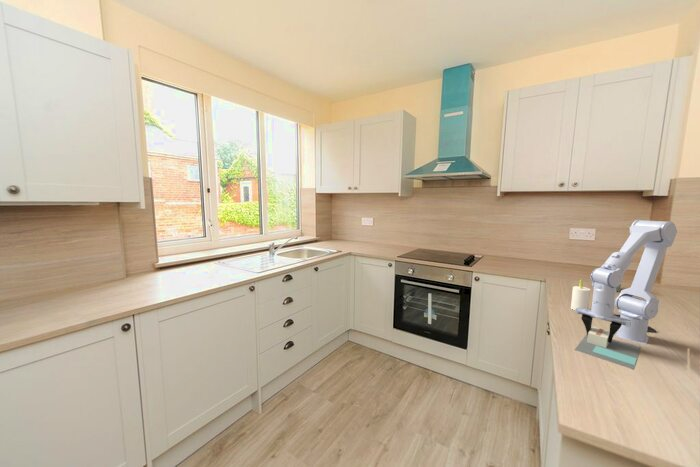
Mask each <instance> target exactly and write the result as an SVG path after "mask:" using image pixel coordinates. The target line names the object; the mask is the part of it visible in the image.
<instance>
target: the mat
mask: <svg viewBox="0 0 700 467" xmlns="http://www.w3.org/2000/svg"><path fill="white" fill-rule="evenodd" d="M587 339H588V336H587V333H586V335H585V336H584V337H583V338H582V339H581V340H580V342H579V343H578V345H577V346H576V347H575V348H574V351H577V352H580V353H583V354H585V355H589V356H592V357H595V358H597V359H601V360H604V361H607V362H610V363H612V364H615V365H620V366H622V367H625V368H628V369H631V370H635V367H636V364H637V360H638V358H639V355H640V352H641V350H642V348H641V346H638V345H634V344H630V343H627V342H623V341H621V340H617V339H613V338H612V342H611V343H609V344H608V345H607V347H606V348H605V347H601V346H598V345H595V344H592V343H588V342H587Z"/></svg>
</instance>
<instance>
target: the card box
mask: <svg viewBox="0 0 700 467" xmlns="http://www.w3.org/2000/svg"><path fill="white" fill-rule="evenodd" d="M609 333H610V330H608V329H604V328H600V327H597V326H591V330H590V331H589V332H588V339H587V342H588V343H592V344H595V345H598V346H601V347H605V348H606V347H607V345H608V344H609V342H608V338H609Z"/></svg>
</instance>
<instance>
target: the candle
mask: <svg viewBox="0 0 700 467" xmlns="http://www.w3.org/2000/svg"><path fill="white" fill-rule="evenodd" d="M571 291H572V293H571V302H570V303H571V304H570V309H571V310H572V309H573V311H574V310H575V308H582V309H588V310H589V306H590V299H591V298H590V297H591V288H589V287H585V286H584V283H583V279H582V278H580V279H579V284H578V286H577V285H575V286H572V290H571Z"/></svg>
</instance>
